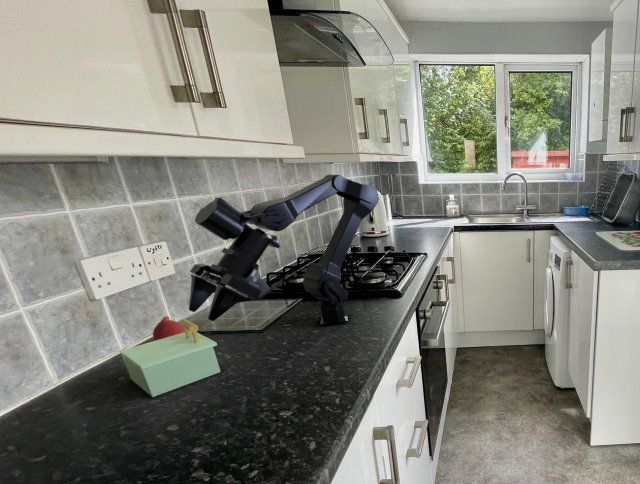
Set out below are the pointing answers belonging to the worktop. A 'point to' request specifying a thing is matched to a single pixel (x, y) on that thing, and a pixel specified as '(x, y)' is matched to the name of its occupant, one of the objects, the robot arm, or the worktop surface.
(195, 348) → the bin lid
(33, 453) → the worktop surface
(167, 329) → the onion
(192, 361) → the bin
